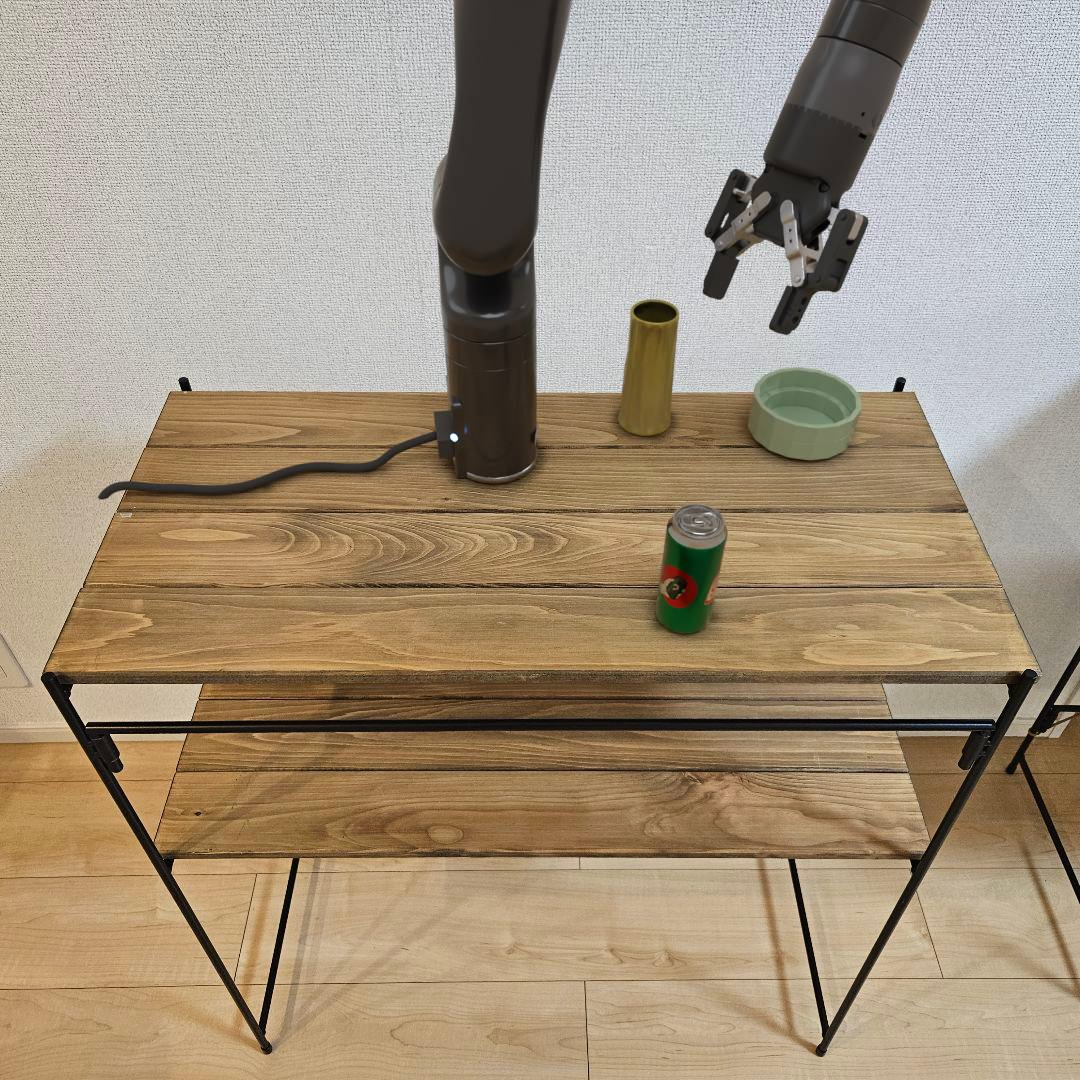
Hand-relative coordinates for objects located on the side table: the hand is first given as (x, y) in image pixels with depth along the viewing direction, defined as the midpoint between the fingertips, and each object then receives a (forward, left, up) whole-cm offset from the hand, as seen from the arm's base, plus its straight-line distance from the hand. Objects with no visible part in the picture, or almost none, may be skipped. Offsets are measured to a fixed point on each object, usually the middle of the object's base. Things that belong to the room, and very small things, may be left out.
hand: (744, 314), depth 76 cm
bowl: (+14, +12, -23) cm, 30 cm away
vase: (-3, +17, -23) cm, 29 cm away
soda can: (-7, -13, -23) cm, 27 cm away
